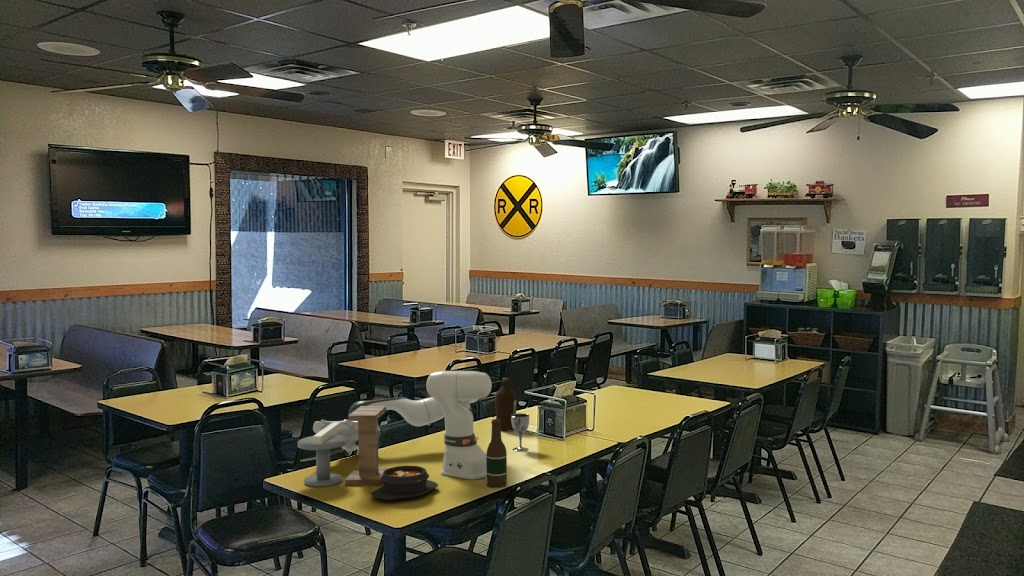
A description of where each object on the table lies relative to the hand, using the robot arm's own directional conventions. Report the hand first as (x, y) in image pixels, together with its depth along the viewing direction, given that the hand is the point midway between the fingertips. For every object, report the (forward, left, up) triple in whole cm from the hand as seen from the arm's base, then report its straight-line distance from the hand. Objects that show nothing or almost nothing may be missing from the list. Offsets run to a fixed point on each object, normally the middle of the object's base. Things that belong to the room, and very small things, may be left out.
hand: (334, 421), depth 293 cm
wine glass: (-36, -70, -19) cm, 81 cm away
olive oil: (-4, -95, -19) cm, 97 cm away
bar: (-8, +8, -3) cm, 12 cm away
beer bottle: (-64, -26, -19) cm, 72 cm away
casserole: (-47, +3, -19) cm, 51 cm away
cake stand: (-11, +13, -19) cm, 25 cm away
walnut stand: (-22, 0, -19) cm, 29 cm away
